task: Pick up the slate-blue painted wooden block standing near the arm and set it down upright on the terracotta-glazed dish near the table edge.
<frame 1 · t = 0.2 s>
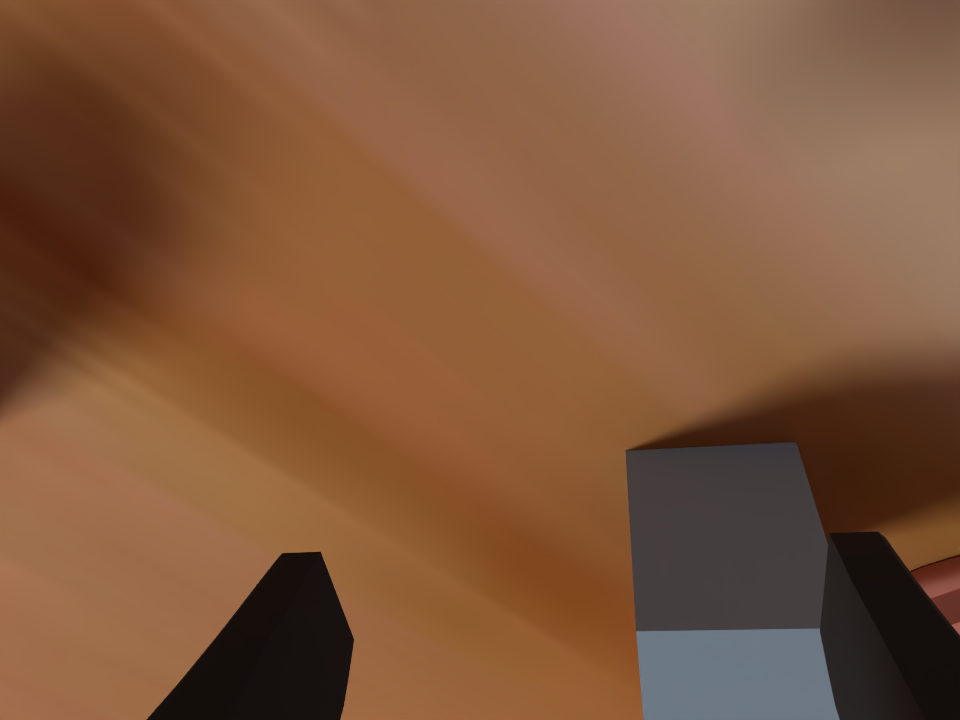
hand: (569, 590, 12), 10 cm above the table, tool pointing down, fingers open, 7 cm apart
slate block: (709, 505, 24), on the table
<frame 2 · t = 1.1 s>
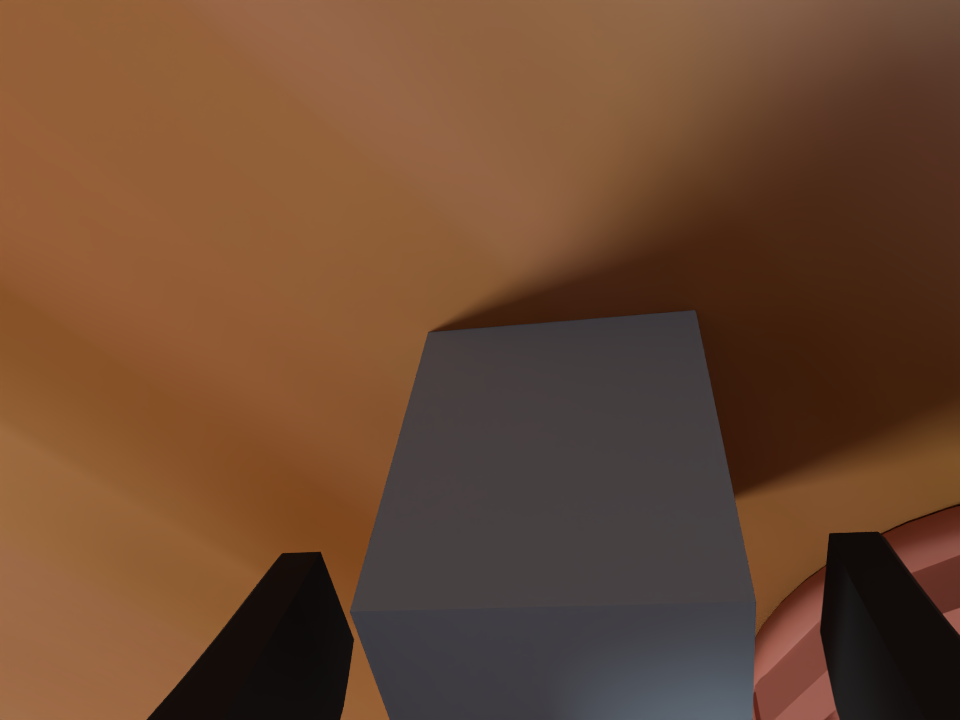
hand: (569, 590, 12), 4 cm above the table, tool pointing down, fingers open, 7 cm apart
slate block: (571, 424, 16), on the table
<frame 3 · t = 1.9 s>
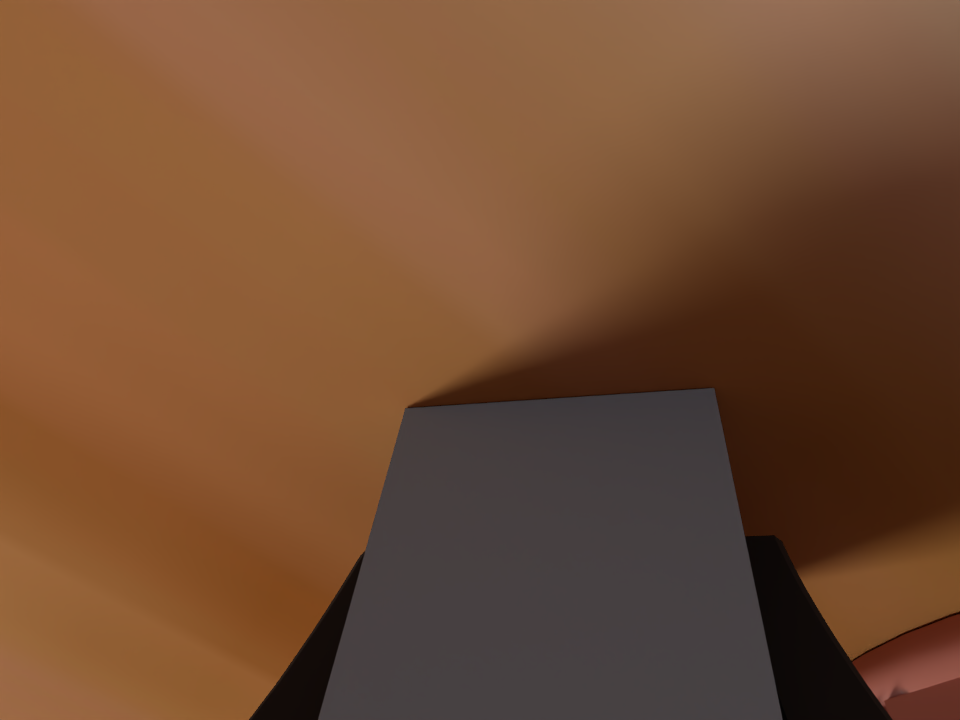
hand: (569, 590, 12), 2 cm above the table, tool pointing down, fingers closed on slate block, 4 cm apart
slate block: (570, 509, 14), on the table, touching gripper
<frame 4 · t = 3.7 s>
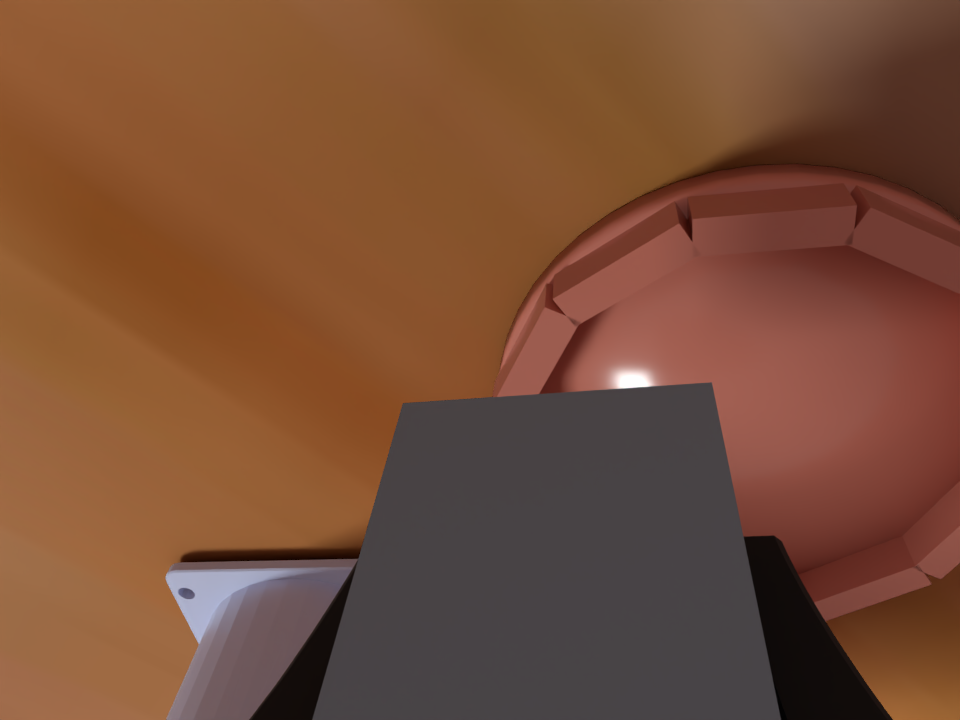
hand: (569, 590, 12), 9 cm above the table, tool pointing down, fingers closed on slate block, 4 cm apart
slate block: (568, 505, 14), point 7 cm above the table, touching gripper
terracotta dish: (746, 400, 20), on the table
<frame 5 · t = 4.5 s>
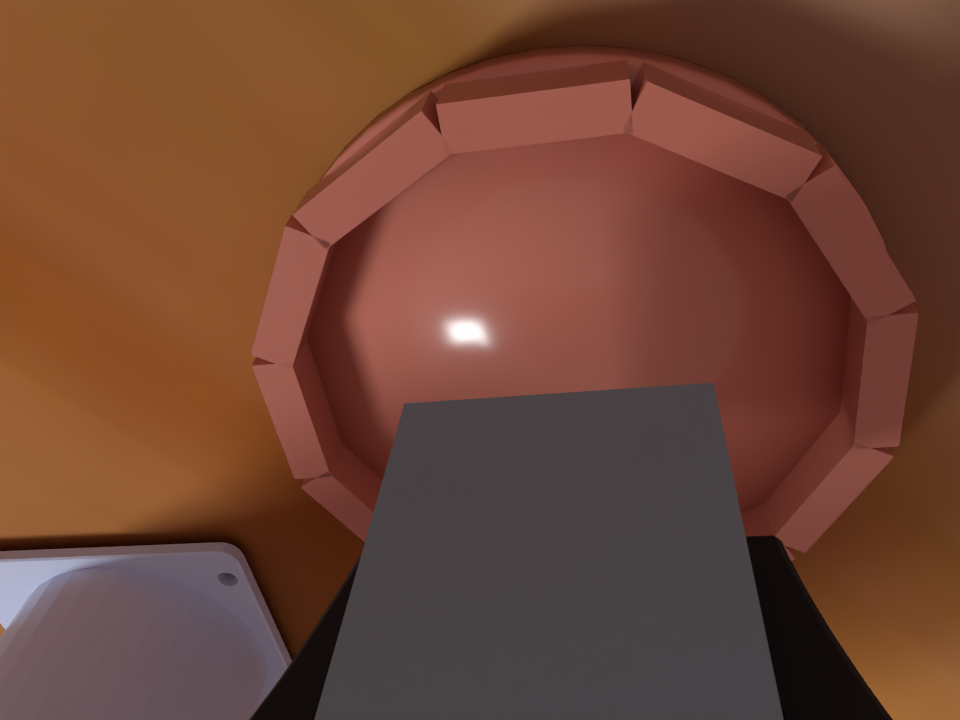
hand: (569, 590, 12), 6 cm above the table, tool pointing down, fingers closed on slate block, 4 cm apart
slate block: (569, 505, 14), point 5 cm above the table, touching gripper
terracotta dish: (572, 346, 17), on the table
when the fingers open (4 cm above the table, at t = 5.3 s): slate block drops 1 cm, resting on terracotta dish.
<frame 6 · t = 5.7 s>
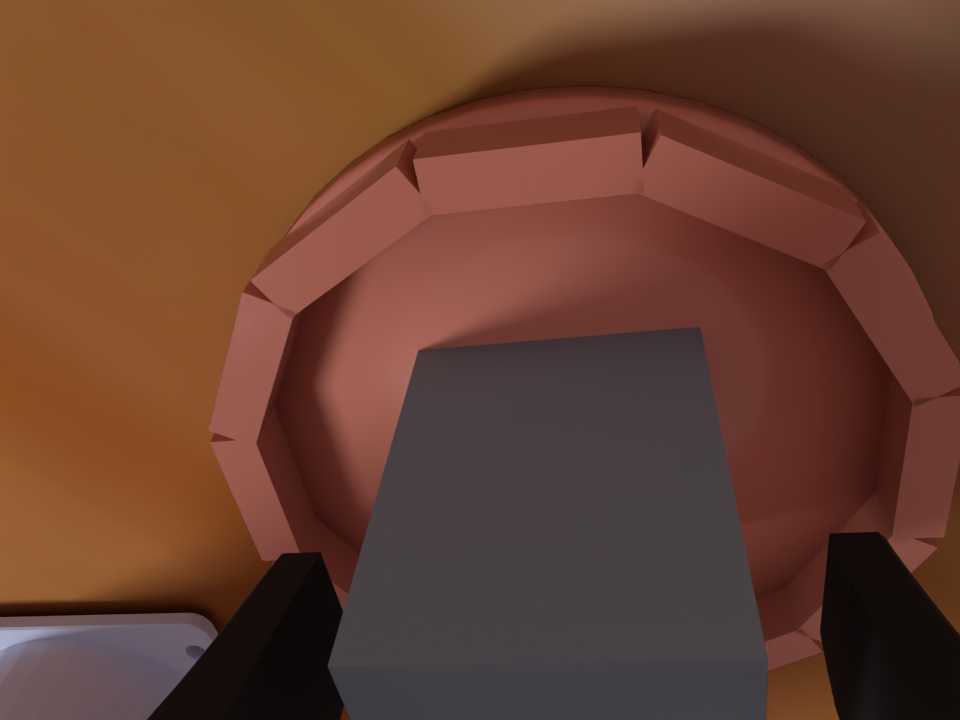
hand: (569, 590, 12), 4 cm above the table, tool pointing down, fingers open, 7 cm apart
slate block: (570, 446, 15), point 1 cm above the table, touching terracotta dish
terracotta dish: (572, 413, 16), on the table
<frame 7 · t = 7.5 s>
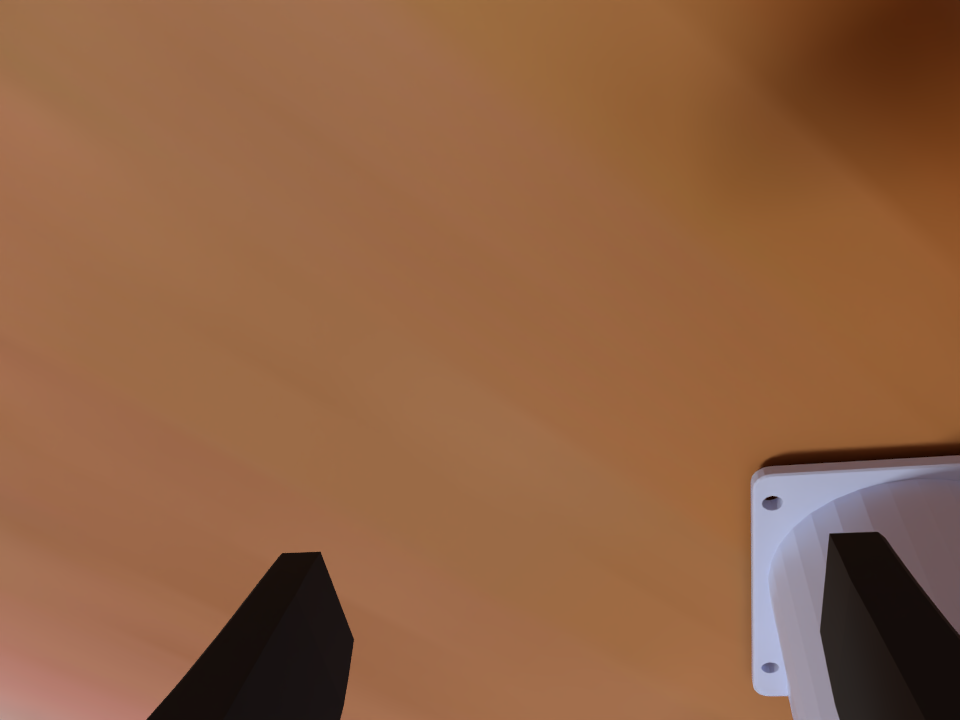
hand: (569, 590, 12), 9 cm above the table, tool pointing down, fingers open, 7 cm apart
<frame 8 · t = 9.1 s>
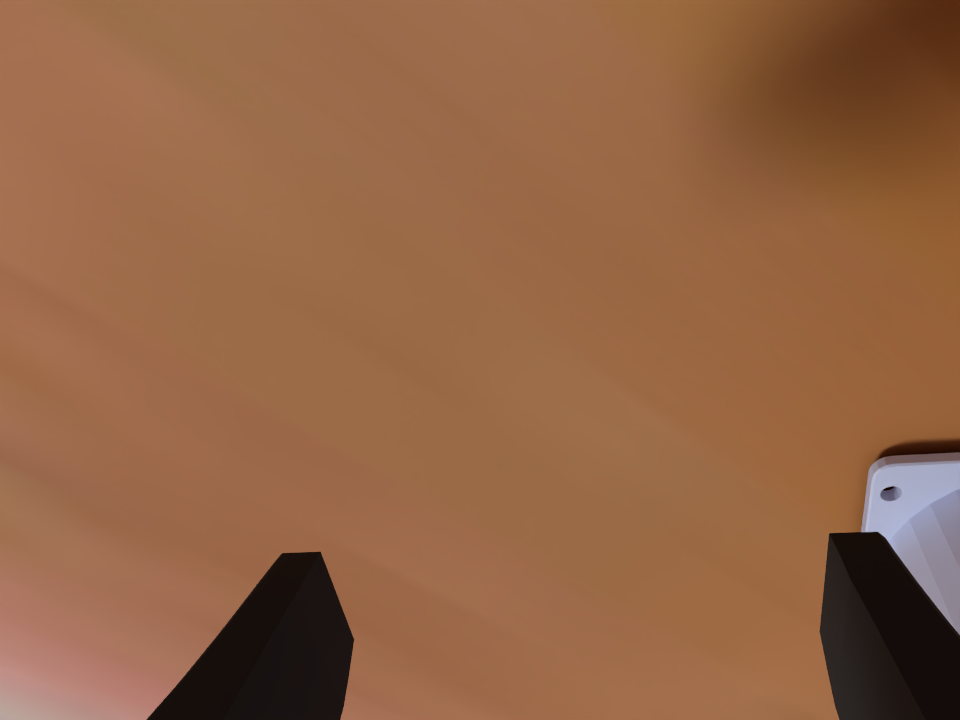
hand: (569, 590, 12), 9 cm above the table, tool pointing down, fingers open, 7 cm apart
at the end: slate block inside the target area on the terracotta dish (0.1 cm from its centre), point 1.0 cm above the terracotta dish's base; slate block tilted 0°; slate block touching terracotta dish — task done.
